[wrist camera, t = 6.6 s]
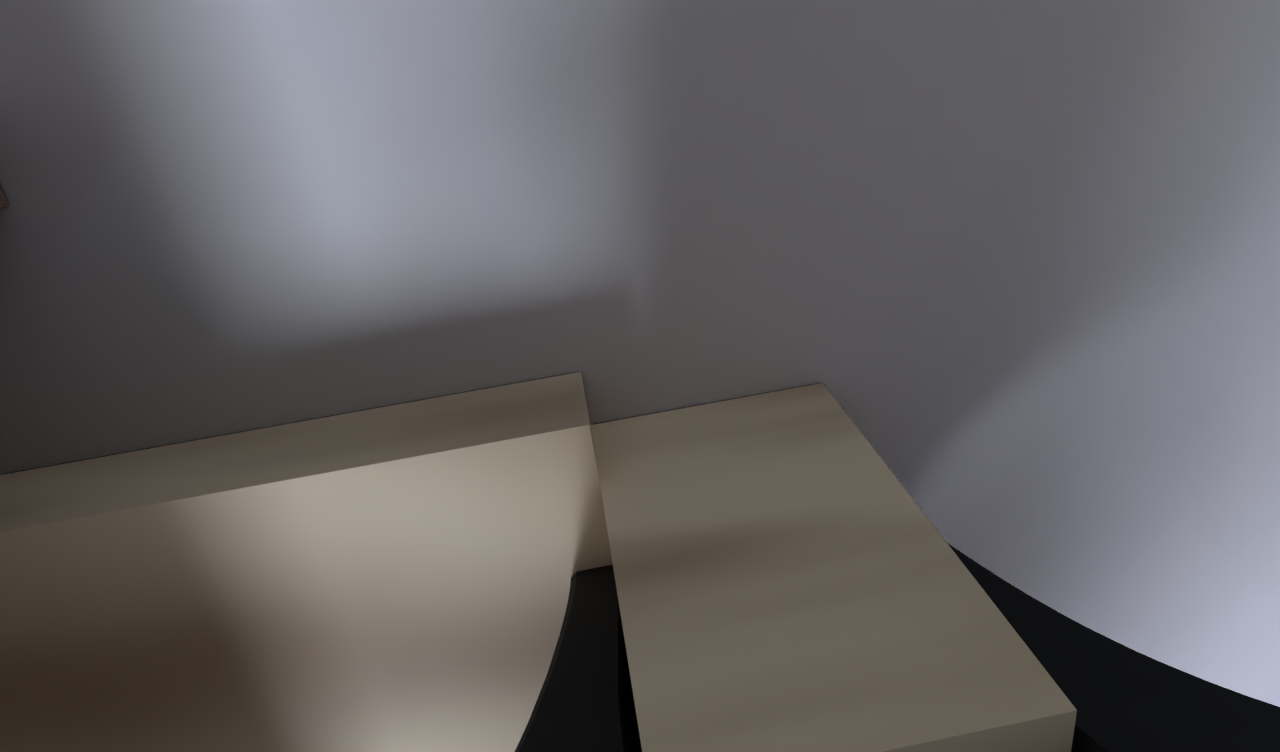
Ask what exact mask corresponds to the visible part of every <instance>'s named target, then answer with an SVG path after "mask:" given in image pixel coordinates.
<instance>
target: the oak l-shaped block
mask: <svg viewBox="0 0 1280 752" xmlns="http://www.w3.org/2000/svg"><path fill="white" fill-rule="evenodd" d="M608 565H613V569H614V576H615V582H616V588H617V595H618V601H619V607H620V614H621V620H622V626H623V633H624V639H625V646H626V652H627V658H628V665H629V671H630V677H631V684H632V690H633V696H634V703H635V709H636V716H637V722H638V728H639V735H640V741H641V747H642V752H1071V748H1072V741H1073V735H1074V728H1075V721H1076V714H1077V710H1076V708H1075V707H1074V706H1073V704H1072V703H1071V702H1070V701H1069V699H1068V698H1067V697H1066V695H1065V694H1064V693H1063V692H1062V690H1061V689H1060V688H1059V686H1058V685H1057V684H1056V683H1055V681H1054V680H1053V679H1052V677H1051V676H1050V675H1049V674H1048V672H1047V671H1046V670H1045V668H1044V667H1043V666H1042V665H1041V663H1040V662H1039V661H1038V659H1037V658H1036V657H1035V655H1034V654H1033V653H1032V652H1031V650H1030V649H1029V648H1028V646H1027V645H1026V644H1025V643H1024V641H1023V640H1022V639H1021V637H1020V636H1019V635H1018V634H1017V632H1016V631H1015V630H1014V628H1013V627H1012V626H1011V625H1010V623H1009V622H1008V621H1007V619H1006V618H1005V617H1004V616H1003V614H1002V613H1001V612H1000V610H999V609H998V608H997V607H996V605H995V604H994V603H993V601H992V600H991V599H990V598H989V596H988V595H987V594H986V592H985V591H984V590H983V588H982V587H981V586H980V585H979V583H978V582H977V581H976V579H975V578H974V577H973V576H972V574H971V573H970V572H969V570H968V569H967V568H966V567H965V565H964V564H963V563H962V561H961V560H960V559H959V558H958V556H957V555H956V554H955V552H954V551H953V550H952V549H951V547H950V546H949V545H948V543H947V542H946V541H945V540H944V538H943V537H942V536H941V534H940V533H939V532H938V531H937V529H936V528H935V527H934V525H933V524H932V523H931V521H930V520H929V519H928V518H927V516H926V515H925V514H924V512H923V511H922V510H921V509H920V507H919V506H918V505H917V503H916V502H915V501H914V500H913V498H912V497H911V496H910V494H909V493H908V492H907V491H906V489H905V488H904V487H903V485H902V484H901V483H900V482H899V480H898V479H897V478H896V476H895V475H894V474H893V473H892V471H891V470H890V469H889V467H888V466H887V465H886V464H885V462H884V461H883V460H882V458H881V457H880V456H879V455H878V453H877V452H876V451H875V449H874V448H873V447H872V445H871V444H870V443H869V442H868V440H867V439H866V438H865V436H864V435H863V434H862V433H861V431H860V430H859V429H858V427H857V426H856V425H855V424H854V422H853V421H852V420H851V418H850V417H849V416H848V415H847V413H846V412H845V411H844V409H843V408H842V407H841V406H840V404H839V403H838V402H837V400H836V399H835V398H834V397H833V395H832V394H831V393H830V391H829V390H828V389H827V388H826V386H825V385H824V384H823V383H819V384H814V385H808V386H803V387H797V388H792V389H786V390H781V391H775V392H770V393H764V394H759V395H753V396H748V397H742V398H737V399H731V400H726V401H720V402H715V403H709V404H704V405H698V406H693V407H687V408H682V409H676V410H671V411H665V412H660V413H654V414H649V415H643V416H638V417H632V418H627V419H622V420H616V421H611V422H605V423H600V424H594V425H591V423H590V418H589V412H588V407H587V402H586V396H585V391H584V385H583V380H582V375H581V372H577V373H571V374H566V375H560V376H554V377H549V378H543V379H537V380H532V381H526V382H521V383H515V384H509V385H504V386H498V387H493V388H487V389H481V390H476V391H470V392H464V393H459V394H453V395H448V396H442V397H436V398H431V399H425V400H420V401H414V402H408V403H403V404H397V405H392V406H386V407H380V408H375V409H369V410H363V411H358V412H352V413H347V414H341V415H335V416H330V417H324V418H319V419H313V420H307V421H302V422H296V423H290V424H285V425H279V426H274V427H268V428H262V429H257V430H251V431H246V432H240V433H234V434H229V435H223V436H218V437H212V438H206V439H201V440H195V441H189V442H184V443H178V444H173V445H167V446H161V447H156V448H150V449H145V450H139V451H133V452H128V453H122V454H116V455H111V456H105V457H100V458H94V459H88V460H83V461H77V462H72V463H66V464H60V465H55V466H49V467H44V468H38V469H32V470H27V471H21V472H15V473H10V474H4V475H0V752H515V750H516V748H517V746H518V744H519V741H520V739H521V737H522V735H523V733H524V730H525V728H526V726H527V724H528V721H529V719H530V716H531V714H532V711H533V709H534V706H535V704H536V701H537V699H538V696H539V694H540V691H541V689H542V686H543V683H544V681H545V678H546V675H547V673H548V670H549V667H550V663H551V660H552V657H553V654H554V651H555V648H556V645H557V641H558V638H559V635H560V631H561V627H562V624H563V620H564V616H565V612H566V607H567V603H568V597H569V591H570V583H571V578H572V577H573V575H574V574H575V573H576V572H577V571H582V570H587V569H592V568H597V567H602V566H608Z"/></svg>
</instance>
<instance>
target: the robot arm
mask: <svg viewBox="0 0 1280 752" xmlns="http://www.w3.org/2000/svg"><path fill="white" fill-rule="evenodd" d="M948 545H949V544H948ZM949 546H950V547H951V549H952V550H953V551H954V552H955V554H956V555H957V556H958V558H959V559H960V560H961V561H962V563H963V564H964V565H965V567H966V568H967V569H968V570H969V572H970V573H971V574H972V576H973V577H974V578H975V579H976V581H977V582H978V583H979V585H980V586H981V587H982V588H983V590H984V591H985V592H986V594H987V595H988V596H989V598H990V599H991V600H992V601H993V603H994V604H995V605H996V607H997V608H998V609H999V610H1000V612H1001V613H1002V614H1003V616H1004V617H1005V618H1006V619H1007V621H1008V622H1009V623H1010V625H1011V626H1012V627H1013V628H1014V630H1015V631H1016V632H1017V634H1018V635H1019V636H1020V637H1021V639H1022V640H1023V641H1024V643H1025V644H1026V645H1027V646H1028V648H1029V649H1030V650H1031V652H1032V653H1033V654H1034V655H1035V657H1036V658H1037V659H1038V661H1039V662H1040V663H1041V665H1042V666H1043V667H1044V668H1045V670H1046V671H1047V672H1048V674H1049V675H1050V676H1051V677H1052V679H1053V680H1054V681H1055V683H1056V684H1057V685H1058V686H1059V688H1060V689H1061V690H1062V692H1063V693H1064V694H1065V695H1066V697H1067V698H1068V699H1069V701H1070V702H1071V703H1072V704H1073V706H1074V707H1075V708H1076V710H1077V714H1076V721H1075V728H1074V735H1073V741H1072V748H1071V752H1280V707H1278V706H1275V705H1272V704H1269V703H1266V702H1263V701H1260V700H1257V699H1254V698H1251V697H1248V696H1245V695H1242V694H1240V693H1237V692H1234V691H1232V690H1229V689H1226V688H1223V687H1221V686H1218V685H1215V684H1213V683H1210V682H1207V681H1205V680H1203V679H1200V678H1198V677H1195V676H1193V675H1190V674H1188V673H1185V672H1183V671H1181V670H1178V669H1176V668H1173V667H1171V666H1168V665H1166V664H1164V663H1161V662H1159V661H1156V660H1154V659H1152V658H1150V657H1147V656H1145V655H1143V654H1141V653H1138V652H1136V651H1134V650H1132V649H1130V648H1128V647H1126V646H1124V645H1121V644H1119V643H1117V642H1115V641H1113V640H1111V639H1109V638H1107V637H1105V636H1103V635H1101V634H1099V633H1097V632H1095V631H1093V630H1091V629H1089V628H1087V627H1085V626H1083V625H1081V624H1079V623H1077V622H1075V621H1073V620H1071V619H1070V618H1068V617H1066V616H1064V615H1062V614H1060V613H1059V612H1057V611H1055V610H1053V609H1052V608H1050V607H1048V606H1046V605H1045V604H1043V603H1041V602H1039V601H1038V600H1036V599H1034V598H1032V597H1031V596H1029V595H1027V594H1026V593H1024V592H1022V591H1021V590H1019V589H1017V588H1016V587H1014V586H1012V585H1011V584H1009V583H1007V582H1006V581H1004V580H1003V579H1001V578H1000V577H998V576H996V575H995V574H993V573H992V572H990V571H989V570H987V569H985V568H984V567H982V566H981V565H979V564H978V563H976V562H975V561H973V560H972V559H970V558H969V557H967V556H966V555H964V554H963V553H961V552H960V551H958V550H957V549H955V548H954V547H952V546H951V545H949ZM515 752H642V747H641V741H640V735H639V728H638V722H637V716H636V709H635V703H634V696H633V690H632V684H631V677H630V671H629V665H628V658H627V652H626V646H625V639H624V633H623V626H622V620H621V614H620V607H619V601H618V595H617V588H616V582H615V576H614V569H613V565H608V566H602V567H597V568H592V569H587V570H582V571H577V572H576V573H575V574H574V575H573V577H572V578H571V583H570V591H569V597H568V603H567V607H566V612H565V616H564V620H563V624H562V627H561V631H560V635H559V638H558V641H557V645H556V648H555V651H554V654H553V657H552V660H551V663H550V667H549V670H548V673H547V675H546V678H545V681H544V683H543V686H542V689H541V691H540V694H539V696H538V699H537V701H536V704H535V706H534V709H533V711H532V714H531V716H530V719H529V721H528V724H527V726H526V728H525V730H524V733H523V735H522V737H521V739H520V741H519V744H518V746H517V748H516V750H515Z"/></svg>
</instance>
